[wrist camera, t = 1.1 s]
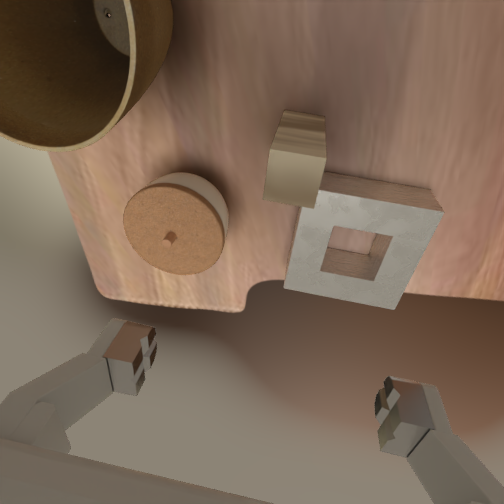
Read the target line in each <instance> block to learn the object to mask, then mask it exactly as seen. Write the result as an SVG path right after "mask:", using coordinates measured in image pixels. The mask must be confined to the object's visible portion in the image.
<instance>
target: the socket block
mask: <svg viewBox="0 0 504 504" xmlns="http://www.w3.org/2000/svg"><path fill="white" fill-rule="evenodd" d="M443 214H444V210H443V209H442V207H441V206H440V204H439V203H438V201H437V199H436V198H435V196H434V195H433V193H432V191H431V190H429V189H424V188H418V187H412V186H406V185H400V184H394V183H389V182H383V181H377V180H371V179H365V178H360V177H354V176H348V175H342V174H336V173H330V172H325V171H323V175H322V179H321V183H320V187H319V191H318V195H317V199H316V203H315V207H314V209H312V208H306V207H299V211H298V216H297V220H296V225H295V229H294V234H293V238H292V243H291V247H290V252H289V256H288V261H287V267H286V274H285V282H284V288H286V289H291V290H296V291H301V292H306V293H311V294H316V295H321V296H326V297H331V298H337V299H341V300H347V301H351V302H357V303H362V304H367V305H372V306H377V307H382V308H387V309H392V310H395V308H396V306H397V304H398V301H399V300H400V298H401V296H402V294H403V292H404V290H405V288H406V286H407V284H408V282H409V280H410V278H411V276H412V275H413V273H414V271H415V269H416V267H417V265H418V263H419V261H420V259H421V257H422V255H423V253H424V251H425V249H426V247H427V245H428V243H429V241H430V239H431V238H432V236H433V234H434V232H435V230H436V228H437V226H438V224H439V222H440V220H441V218H442V216H443ZM333 225H334V226H339V227H345V228H350V229H356V230H361V231H367V232H372V233H377V235H376V238H375V240H374V243H373V245H372V248H371V250H370V253H369V255H364V254H359V253H353V252H348V251H343V250H337V249H332V248H327V245H328V242H329V239H330V235H331V232H332V229H333Z"/></svg>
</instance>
